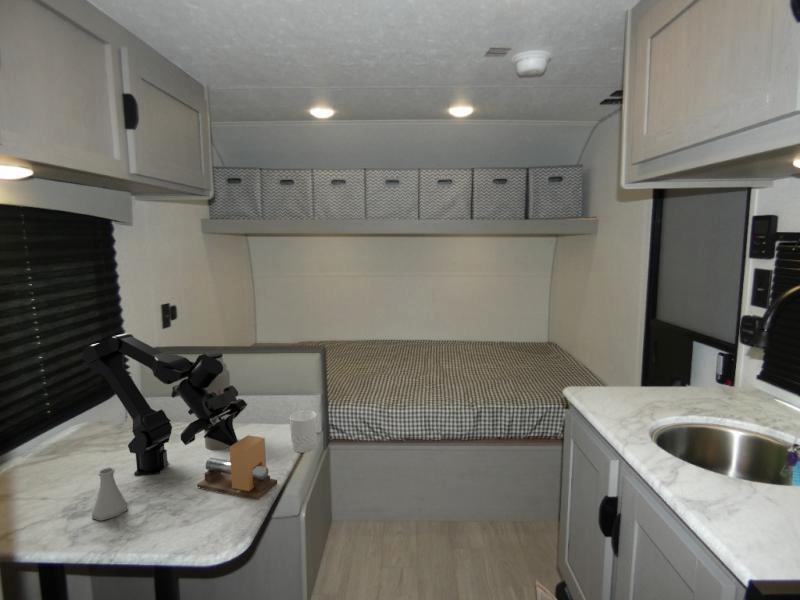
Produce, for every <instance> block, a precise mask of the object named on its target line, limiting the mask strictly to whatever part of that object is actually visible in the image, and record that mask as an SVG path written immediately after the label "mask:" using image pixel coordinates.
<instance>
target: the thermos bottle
mask: <svg viewBox="0 0 800 600" xmlns="http://www.w3.org/2000/svg"><path fill="white" fill-rule="evenodd" d="M205 354H206V355H207V356H208V357H213V358H215V359H217V360H219V361H220V362H221V364H222V365H223V371H222V373H221V374H220V375H219V376H218V377H217V379H216V380H215V381H214V382H213V383H212V384H211V385H210V386H209V387H208V388H206V390H207V391H208V392H209V393H212V392H214V393H216V394H217V395H220V394H222V393H224V389H225V388H227V387H229V386H231V380H230V379H231V376H230V370H228V369H227V368H228V366H227V363H226V362H224V358H223V353H222V352H212V353H211V352H210V353H205ZM229 405H230V404H229ZM229 405H228V406H229ZM228 406H227V407H228ZM227 407H226V408H227ZM226 408H225V409H226ZM225 409H224V410H225ZM224 410H223V411H224ZM219 418H220V417H219ZM203 431H204V436H205V435H206V432H205V430H203ZM204 444H205V445H204V446H205V448H206V449H208V450H214V451H215V450H223V449H227V448H228V447H229V448H230V446H229V445H227V444H224V443H222V442H219V441H217V440H214V439H211V438H208V437H207V438H204Z"/></svg>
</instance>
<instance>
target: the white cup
mask: <svg viewBox="0 0 800 600" xmlns="http://www.w3.org/2000/svg"><path fill="white" fill-rule="evenodd" d="M317 415H318V414H317V413H316V412H315V411H311V410H300V411H296V412H294V413H291V414H290V415H289V428H290V437H291V438H290V439H291V446H292V451H294V452H296V453H302V454H303V453H309V452H312V451H314V450H315V449H316V446H317V429H318V428H317V421H318V419H317Z"/></svg>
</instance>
